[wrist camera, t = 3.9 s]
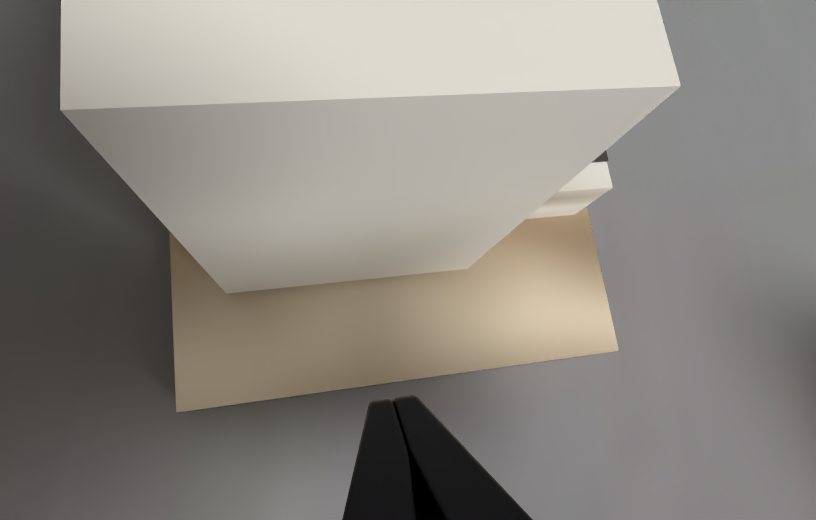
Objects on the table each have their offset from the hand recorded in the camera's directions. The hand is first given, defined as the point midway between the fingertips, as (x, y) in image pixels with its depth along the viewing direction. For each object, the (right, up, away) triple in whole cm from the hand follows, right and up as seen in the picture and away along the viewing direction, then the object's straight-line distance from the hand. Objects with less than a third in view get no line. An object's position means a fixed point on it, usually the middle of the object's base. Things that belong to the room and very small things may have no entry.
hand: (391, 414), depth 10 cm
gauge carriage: (0, +6, +7) cm, 9 cm away
